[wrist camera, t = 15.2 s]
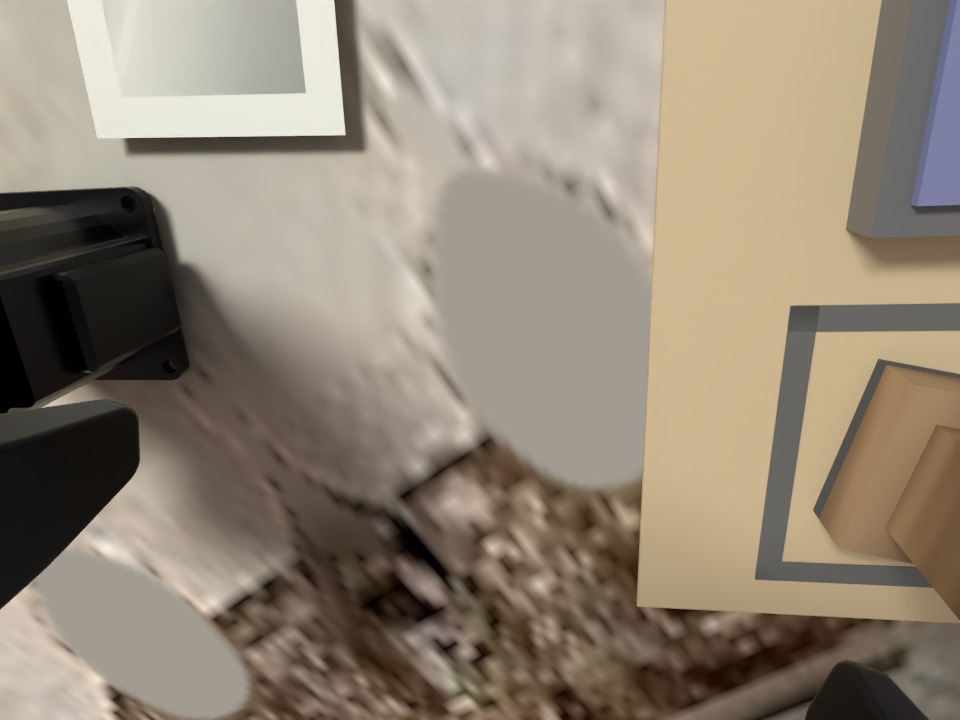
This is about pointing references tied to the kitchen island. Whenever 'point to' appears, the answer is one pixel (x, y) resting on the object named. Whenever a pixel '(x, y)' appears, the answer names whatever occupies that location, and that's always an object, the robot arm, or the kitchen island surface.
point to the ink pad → (911, 125)
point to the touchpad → (210, 67)
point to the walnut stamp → (901, 475)
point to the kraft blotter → (772, 314)
